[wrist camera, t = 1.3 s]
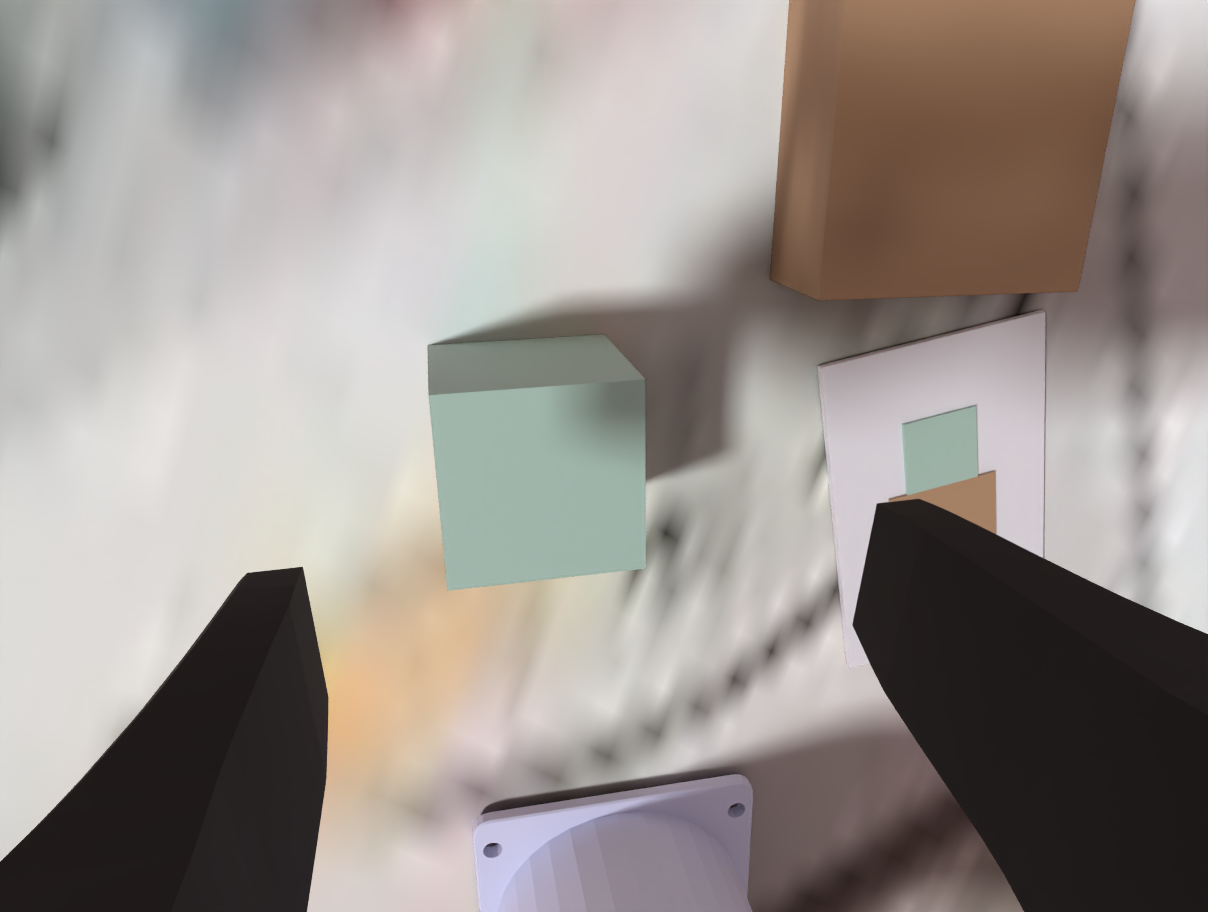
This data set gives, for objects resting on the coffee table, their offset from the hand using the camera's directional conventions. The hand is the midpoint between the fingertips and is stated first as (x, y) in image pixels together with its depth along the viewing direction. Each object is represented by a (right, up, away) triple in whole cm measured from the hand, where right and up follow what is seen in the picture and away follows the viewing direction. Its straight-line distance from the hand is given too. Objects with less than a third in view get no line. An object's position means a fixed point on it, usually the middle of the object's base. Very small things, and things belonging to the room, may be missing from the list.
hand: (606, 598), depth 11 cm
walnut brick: (+7, +9, +9) cm, 14 cm away
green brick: (-2, +3, +9) cm, 10 cm away
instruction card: (+9, +1, +12) cm, 15 cm away
